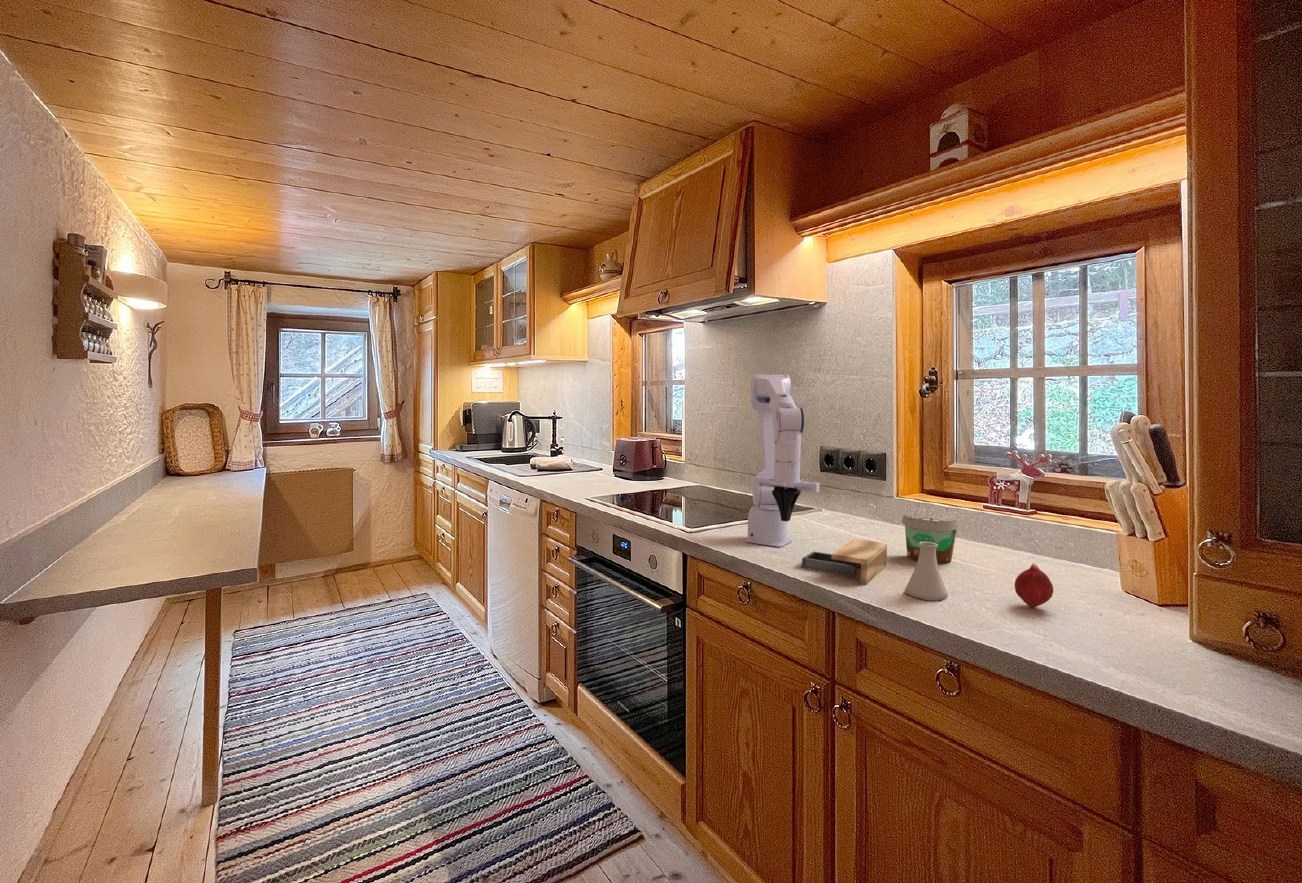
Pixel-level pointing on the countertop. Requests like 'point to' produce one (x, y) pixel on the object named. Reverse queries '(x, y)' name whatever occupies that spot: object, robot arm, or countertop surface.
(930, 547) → the flask
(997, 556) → the countertop surface
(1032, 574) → the onion
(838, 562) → the dark grey drawer
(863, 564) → the pine shelf
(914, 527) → the food container
